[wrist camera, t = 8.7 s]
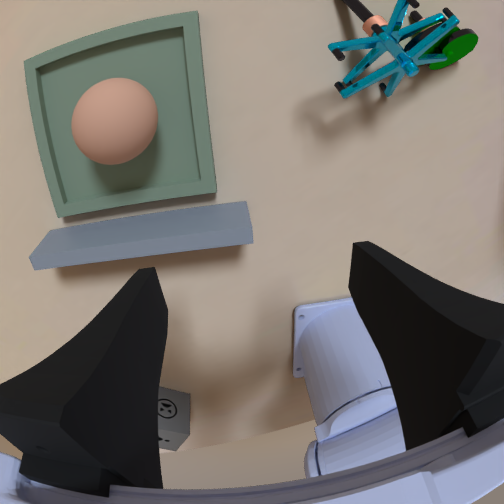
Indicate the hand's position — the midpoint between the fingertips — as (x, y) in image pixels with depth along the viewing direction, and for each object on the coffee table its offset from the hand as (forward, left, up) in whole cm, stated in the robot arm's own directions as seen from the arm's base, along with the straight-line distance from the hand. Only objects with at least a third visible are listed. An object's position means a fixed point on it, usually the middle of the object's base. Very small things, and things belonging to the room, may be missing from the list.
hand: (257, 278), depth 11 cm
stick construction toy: (+10, -10, -10) cm, 17 cm away
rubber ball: (+6, +6, -7) cm, 10 cm away
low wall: (-1, +7, -9) cm, 11 cm away
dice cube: (-22, +11, -10) cm, 26 cm away
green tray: (+6, +7, -9) cm, 13 cm away
